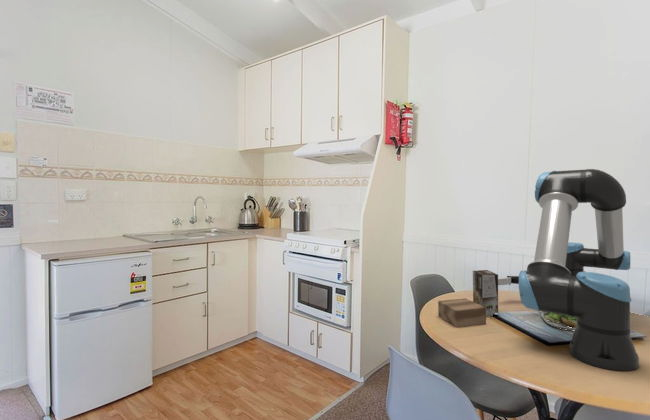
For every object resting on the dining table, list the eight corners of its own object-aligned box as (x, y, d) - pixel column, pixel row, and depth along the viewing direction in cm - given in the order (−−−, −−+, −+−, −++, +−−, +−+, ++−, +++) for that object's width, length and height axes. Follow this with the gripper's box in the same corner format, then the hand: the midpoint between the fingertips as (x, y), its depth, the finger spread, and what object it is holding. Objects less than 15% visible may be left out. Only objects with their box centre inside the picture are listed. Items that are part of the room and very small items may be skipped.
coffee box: (499, 316, 132) (498, 274, 132) (482, 316, 132) (481, 274, 132) (488, 308, 141) (488, 269, 141) (472, 308, 141) (472, 269, 141)
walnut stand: (486, 324, 124) (485, 307, 124) (456, 327, 122) (456, 310, 122) (466, 313, 136) (465, 298, 136) (438, 316, 134) (438, 300, 134)
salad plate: (614, 339, 109) (614, 325, 109) (548, 332, 116) (548, 319, 116) (593, 319, 127) (593, 307, 127) (537, 314, 134) (537, 302, 134)
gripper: (581, 299, 131) (533, 304, 127) (529, 283, 155) (488, 287, 151) (581, 279, 131) (533, 284, 126) (529, 267, 155) (488, 270, 151)
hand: (508, 286), depth 139 cm, fingers open, 13 cm apart
